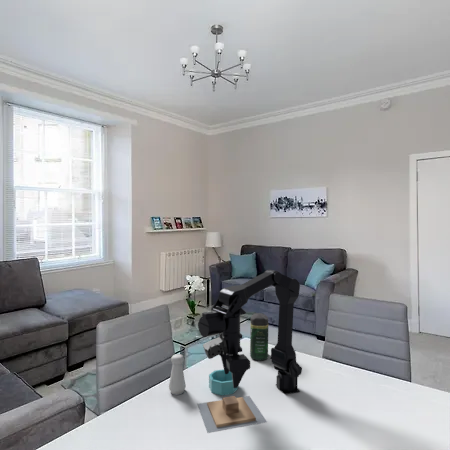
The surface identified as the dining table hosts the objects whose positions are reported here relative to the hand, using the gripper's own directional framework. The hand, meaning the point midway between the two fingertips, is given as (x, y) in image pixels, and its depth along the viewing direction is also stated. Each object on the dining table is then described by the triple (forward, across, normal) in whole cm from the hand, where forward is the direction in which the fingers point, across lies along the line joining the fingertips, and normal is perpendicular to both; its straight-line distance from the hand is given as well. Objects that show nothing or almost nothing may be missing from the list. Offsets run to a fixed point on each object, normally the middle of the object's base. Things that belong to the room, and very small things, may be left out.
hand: (230, 380), depth 101 cm
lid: (+10, 0, 0) cm, 10 cm away
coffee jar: (+11, -38, +25) cm, 47 cm away
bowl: (+11, -15, +2) cm, 18 cm away
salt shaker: (+11, -17, -14) cm, 24 cm away
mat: (+10, 0, 0) cm, 11 cm away
